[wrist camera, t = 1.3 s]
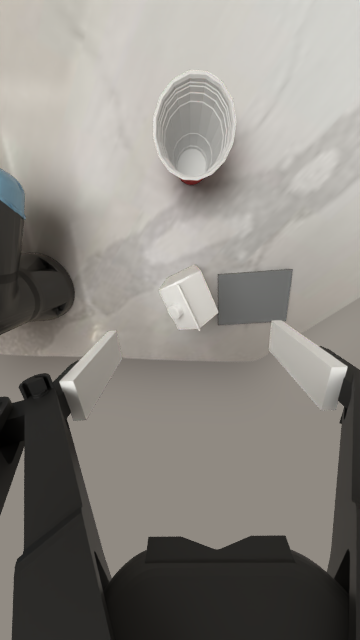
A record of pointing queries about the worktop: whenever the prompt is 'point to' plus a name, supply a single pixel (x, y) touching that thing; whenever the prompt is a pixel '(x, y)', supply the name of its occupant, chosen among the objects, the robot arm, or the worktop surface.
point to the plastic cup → (194, 125)
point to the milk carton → (188, 299)
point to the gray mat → (253, 296)
